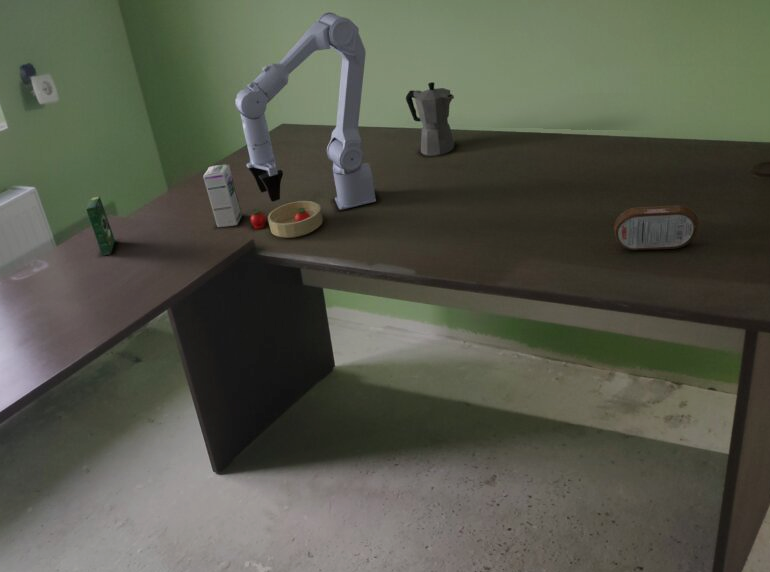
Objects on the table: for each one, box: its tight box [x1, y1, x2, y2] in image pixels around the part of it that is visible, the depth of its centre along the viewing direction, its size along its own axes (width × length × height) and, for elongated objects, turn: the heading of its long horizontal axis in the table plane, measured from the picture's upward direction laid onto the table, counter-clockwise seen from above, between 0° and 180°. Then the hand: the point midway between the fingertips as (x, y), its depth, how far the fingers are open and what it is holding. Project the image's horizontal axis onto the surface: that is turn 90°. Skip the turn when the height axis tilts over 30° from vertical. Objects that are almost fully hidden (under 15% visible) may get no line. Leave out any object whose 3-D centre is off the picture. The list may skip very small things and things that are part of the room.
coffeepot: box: [405, 81, 455, 157], centre depth 232 cm, size 15×9×18 cm, turn 44°
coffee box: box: [85, 195, 116, 256], centre depth 226 cm, size 8×3×13 cm, turn 0°
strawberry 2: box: [295, 208, 310, 222], centre depth 213 cm, size 4×4×4 cm
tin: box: [613, 205, 699, 251], centre depth 169 cm, size 15×3×8 cm, turn 71°
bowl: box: [267, 200, 324, 239], centre depth 214 cm, size 13×13×4 cm
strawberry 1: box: [250, 209, 266, 230], centre depth 219 cm, size 4×4×4 cm
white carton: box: [202, 163, 243, 228], centre depth 223 cm, size 6×6×14 cm
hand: (270, 195), depth 213 cm, fingers open, 7 cm apart
